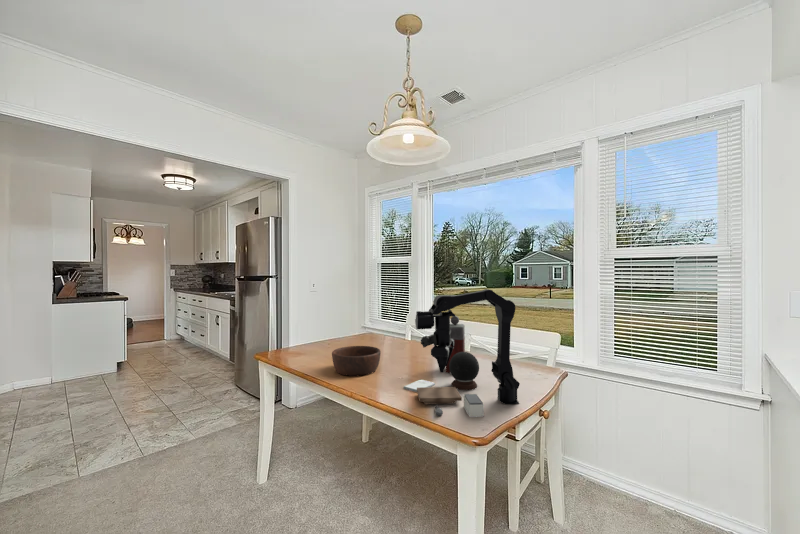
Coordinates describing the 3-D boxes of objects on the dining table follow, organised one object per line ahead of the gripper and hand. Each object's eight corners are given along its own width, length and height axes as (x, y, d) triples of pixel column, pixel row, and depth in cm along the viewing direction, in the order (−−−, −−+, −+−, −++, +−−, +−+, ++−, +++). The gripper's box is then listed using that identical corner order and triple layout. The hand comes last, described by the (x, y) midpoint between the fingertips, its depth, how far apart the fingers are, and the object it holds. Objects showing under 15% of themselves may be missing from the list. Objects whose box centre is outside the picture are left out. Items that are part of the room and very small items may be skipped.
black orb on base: (452, 379, 162) (452, 347, 163) (481, 382, 158) (480, 349, 158) (446, 388, 150) (445, 354, 150) (477, 392, 145) (476, 356, 146)
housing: (463, 407, 130) (463, 394, 130) (476, 407, 130) (476, 393, 130) (469, 417, 121) (469, 403, 121) (483, 417, 121) (483, 402, 121)
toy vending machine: (465, 367, 182) (464, 314, 182) (463, 373, 171) (463, 317, 172) (448, 366, 184) (447, 314, 185) (445, 372, 174) (445, 316, 174)
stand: (455, 394, 144) (455, 386, 144) (461, 405, 132) (461, 397, 132) (416, 394, 143) (416, 387, 143) (419, 406, 131) (419, 398, 131)
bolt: (433, 409, 128) (433, 402, 128) (440, 409, 128) (440, 402, 128) (435, 416, 122) (435, 409, 122) (442, 416, 122) (442, 408, 122)
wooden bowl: (390, 370, 179) (390, 350, 179) (352, 381, 161) (352, 359, 161) (359, 361, 197) (359, 343, 197) (322, 371, 178) (322, 351, 179)
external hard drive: (403, 389, 151) (420, 382, 160) (418, 394, 146) (434, 386, 155) (403, 386, 151) (420, 378, 160) (418, 390, 146) (434, 382, 155)
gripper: (427, 323, 144) (428, 361, 144) (416, 332, 126) (417, 375, 126) (453, 324, 141) (455, 362, 141) (447, 332, 123) (448, 376, 123)
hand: (443, 368), depth 133 cm, fingers open, 9 cm apart
